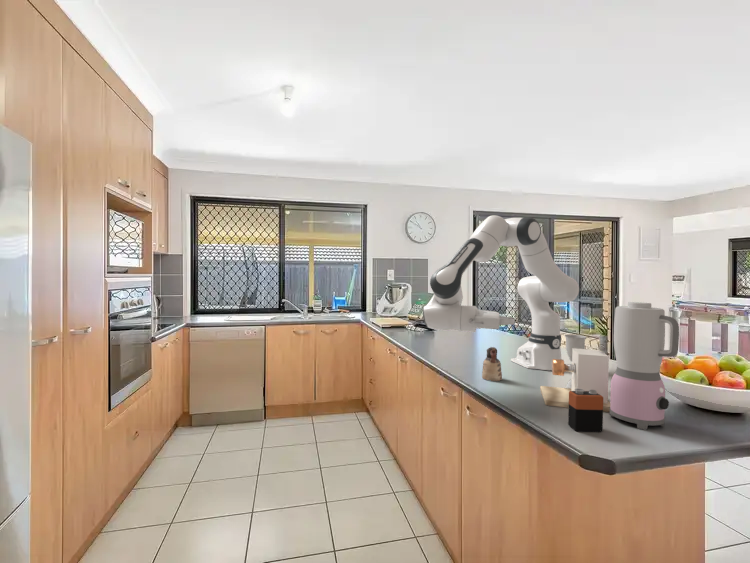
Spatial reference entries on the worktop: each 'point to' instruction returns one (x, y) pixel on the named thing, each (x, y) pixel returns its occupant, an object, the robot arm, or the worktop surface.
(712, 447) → the worktop surface
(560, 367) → the knob
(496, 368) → the figurine
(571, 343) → the chalice
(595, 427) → the battery
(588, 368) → the switch box
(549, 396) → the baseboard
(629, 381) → the blender
